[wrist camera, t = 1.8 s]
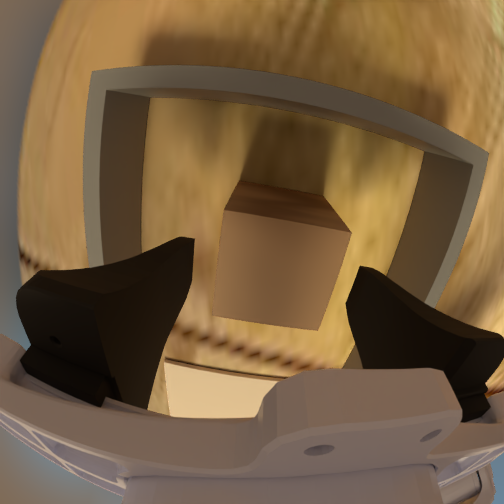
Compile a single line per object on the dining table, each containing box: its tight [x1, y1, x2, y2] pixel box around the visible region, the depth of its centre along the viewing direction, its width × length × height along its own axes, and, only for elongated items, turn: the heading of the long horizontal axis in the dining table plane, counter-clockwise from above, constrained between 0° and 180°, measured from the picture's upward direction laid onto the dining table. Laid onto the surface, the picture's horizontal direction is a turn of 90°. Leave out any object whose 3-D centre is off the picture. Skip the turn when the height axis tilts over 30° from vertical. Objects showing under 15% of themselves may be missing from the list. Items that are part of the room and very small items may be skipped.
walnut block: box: [212, 181, 352, 331], centre depth 14 cm, size 5×5×6 cm
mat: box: [164, 359, 284, 418], centre depth 26 cm, size 14×16×1 cm
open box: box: [83, 65, 489, 369], centre depth 15 cm, size 19×20×5 cm
